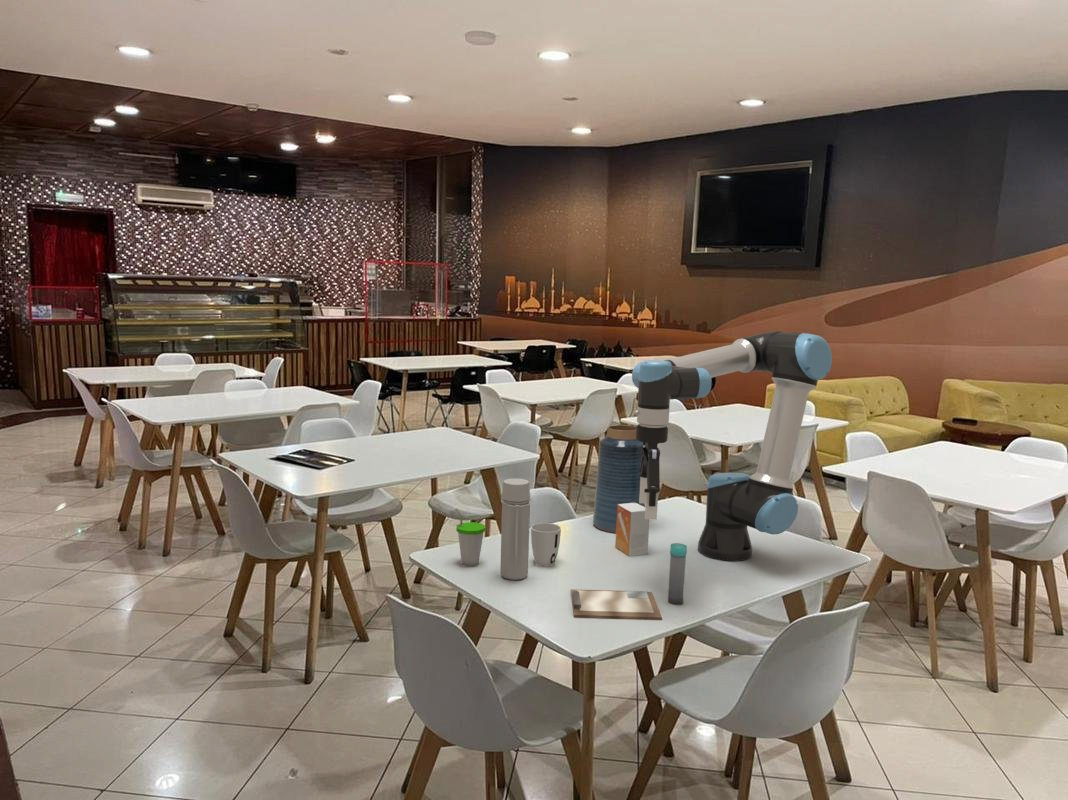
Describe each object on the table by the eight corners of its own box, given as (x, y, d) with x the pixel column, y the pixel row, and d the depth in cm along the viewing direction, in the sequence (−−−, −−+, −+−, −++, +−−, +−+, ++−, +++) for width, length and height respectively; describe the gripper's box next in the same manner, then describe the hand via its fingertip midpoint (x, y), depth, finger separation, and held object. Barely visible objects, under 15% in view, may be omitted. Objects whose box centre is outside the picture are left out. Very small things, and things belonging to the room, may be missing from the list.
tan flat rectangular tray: (651, 593, 190) (652, 587, 190) (661, 619, 176) (662, 613, 175) (570, 591, 190) (570, 585, 190) (573, 617, 175) (574, 610, 175)
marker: (681, 598, 188) (685, 543, 186) (684, 605, 184) (688, 548, 182) (666, 598, 188) (669, 543, 186) (668, 604, 184) (672, 548, 182)
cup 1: (490, 563, 208) (492, 509, 205) (469, 571, 202) (470, 515, 200) (471, 556, 213) (472, 503, 211) (449, 563, 207) (450, 509, 205)
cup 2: (556, 569, 205) (558, 533, 203) (526, 566, 206) (528, 530, 205) (561, 559, 213) (563, 524, 211) (533, 556, 214) (534, 521, 213)
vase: (586, 519, 250) (590, 423, 246) (633, 517, 254) (638, 422, 250) (602, 535, 235) (607, 433, 230) (652, 533, 238) (658, 432, 234)
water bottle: (498, 570, 203) (500, 477, 199) (528, 570, 203) (531, 478, 200) (499, 584, 194) (502, 487, 190) (531, 584, 194) (534, 487, 191)
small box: (614, 547, 224) (616, 503, 222) (633, 545, 226) (636, 502, 225) (628, 556, 217) (631, 511, 215) (648, 554, 219) (650, 509, 217)
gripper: (632, 415, 198) (627, 496, 201) (641, 433, 173) (636, 525, 176) (661, 417, 198) (656, 497, 201) (675, 435, 173) (670, 526, 176)
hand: (647, 510), depth 189 cm, fingers open, 13 cm apart
